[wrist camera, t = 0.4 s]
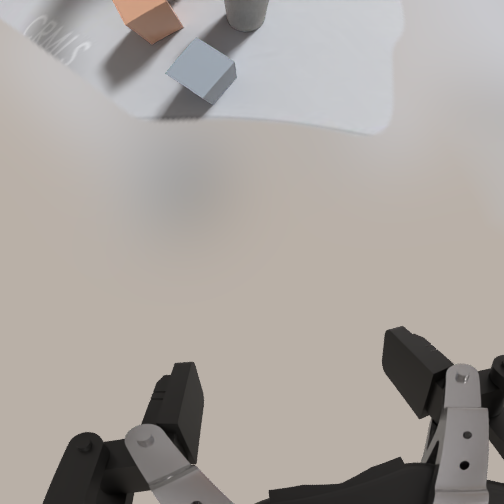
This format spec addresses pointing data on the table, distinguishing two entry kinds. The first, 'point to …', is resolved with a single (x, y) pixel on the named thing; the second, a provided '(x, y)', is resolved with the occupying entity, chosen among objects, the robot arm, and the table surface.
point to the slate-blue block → (203, 70)
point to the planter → (246, 14)
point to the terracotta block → (149, 18)
